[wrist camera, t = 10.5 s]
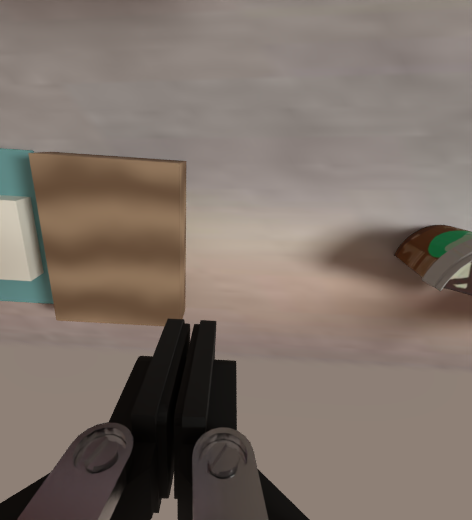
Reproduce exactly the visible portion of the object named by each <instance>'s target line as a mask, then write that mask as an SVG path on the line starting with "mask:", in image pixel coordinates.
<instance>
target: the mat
mask: <svg viewBox="0 0 472 520" xmlns="http://www.w3.org/2000/svg"><path fill="white" fill-rule="evenodd" d="M28 153H34V152H33V151H31V150H16V149H2V148H0V195H6V196H22V197H31V203H32V208H33V214H34V220H35V226H36V231H37V237H38V243H39V248H40V254H41V260H42V266H43V271H44V273H43V274H41V275H40V276H38V277H37V278H35V279H34V280H32V281H20V280H2V279H0V301H14V302H32V303H50V304H54V303H53V297H52V291H51V285H50V279H49V273H48V267H47V261H46V255H45V249H44V243H43V237H42V231H41V225H40V219H39V213H38V208H37V202H36V196H35V190H34V184H33V178H32V172H31V166H30V160H29V154H28Z"/></svg>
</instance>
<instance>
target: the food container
mask: <svg viewBox="0 0 472 520" xmlns="http://www.w3.org/2000/svg"><path fill="white" fill-rule="evenodd" d="M395 256H396V257H397V258H399V259H400V260H401V261H402V262H404V263H405V264H406V265H407V266H409V267H410V268H411V269H412V270H414V271H415V272H416V273H417V274H419V275H420V276H421V277H423V278H422V281H424V282H426V283H427V284H429V285H430V286H432V287H435V288H436V289H438V290H439V291H441V290H442V289H443V288H445V289H451V290H454V291H458V292H462V293H465V294H469V295H472V232H470V231H466V230H463V229H459V228H455V227H451V226H447V225H434V226H429V227H426V228H423V229H421V230H419V231H417V232H415V233H413V234H412V235H411V236H409V237H408V238H407V239H406V240H405V241H404V242H403V243H402V244H401V245H400V247H399V248H398V249H397V251H396V253H395Z"/></svg>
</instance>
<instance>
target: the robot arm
mask: <svg viewBox="0 0 472 520" xmlns="http://www.w3.org/2000/svg"><path fill="white" fill-rule="evenodd" d="M215 339H216V321H206V320H201V322H200V324H194V327H193V332H192V336H191V341H190V324H185V323H184V319H169V318H168V319H167V322H166V324H165V327H164V329H163V332H162V335H161V337H160V340H159V342H158V345H157V347H156V350H155V353H154V355H153V357H152V356H151V357H150V356H140V357H139V358H138V359H137V361H136V363H135V365H134V368H133V370H132V372H131V374H130V377H129V379H128V381H127V383H126V385H125V387H124V390H123V392H122V394H121V396H120V399H119V401H118V403H117V405H116V407H115V409H114V412H113V414H112V416H111V418H110V420H109V422H107V423H102V424H98V425H95V426H93V427H91V428H89V429H87V430H86V431H84V432H83V433H81V434H80V435H79V436H78V437H77V438H76V439H75V440H74V441H73V442H72V444H71V445H70V446H69V448H68V449H67V450H66V452H65V453H64V455H63V456H62V457H61V459H60V460H59V462H58V463H57V465H56V466H55V467H54V469H53V470H52V471H51V473H49V474H47V475H46V476H44V477H42V478H41V479H39V480H38V481H36V482H35V483H33V484H31V485H30V486H28V487H26V488H25V489H23V490H21V491H20V492H18V493H16V494H15V495H13V496H11V497H10V498H8V499H7V500H5V501H3V502H2V503H0V520H150V519H151V518H152V515H153V513H159V509H160V504H161V499H162V498H169V495H170V490H171V485H172V479H173V474H174V498H175V499H178V520H309V519H308V518H307V517H306V516H305V515H304V514H303V513H302V512H301V511H300V510H299V509H298V508H297V507H296V506H295V505H294V504H293V503H292V502H291V501H290V500H289V499H288V498H287V497H286V496H285V495H284V494H283V493H282V492H281V491H279V490H278V488H277V487H276V486H275V485H273V484H272V483H271V482H270V481H269V480H268V479H267V478H266V477H265V476H264V475H263V474H262V473H261V472H260V471H259V470H258V469H257V465H256V460H255V455H254V451H253V448H252V446H251V443H250V442H249V440H248V439H247V438H246V437H245V436H244V435H243V434H241V433H240V432H239V431H237V418H236V416H237V415H236V414H237V410H236V361H230V360H215Z"/></svg>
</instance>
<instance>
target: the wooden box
mask: <svg viewBox="0 0 472 520" xmlns="http://www.w3.org/2000/svg"><path fill="white" fill-rule="evenodd" d="M28 154H29V160H30V166H31V172H32V178H33V184H34V190H35V196H36V202H37V208H38V213H39V219H40V225H41V231H42V237H43V243H44V249H45V255H46V261H47V267H48V273H49V279H50V285H51V291H52V297H53V303H54V309H55V315H56V320H59V321H77V322H96V323H114V324H133V325H151V326H165V324H166V322H167V319H168V318H169V319H182V318H183V315H184V312H185V265H186V161H176V160H161V159H147V158H132V157H118V156H103V155H89V154H74V153H60V152H40V153H28Z"/></svg>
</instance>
